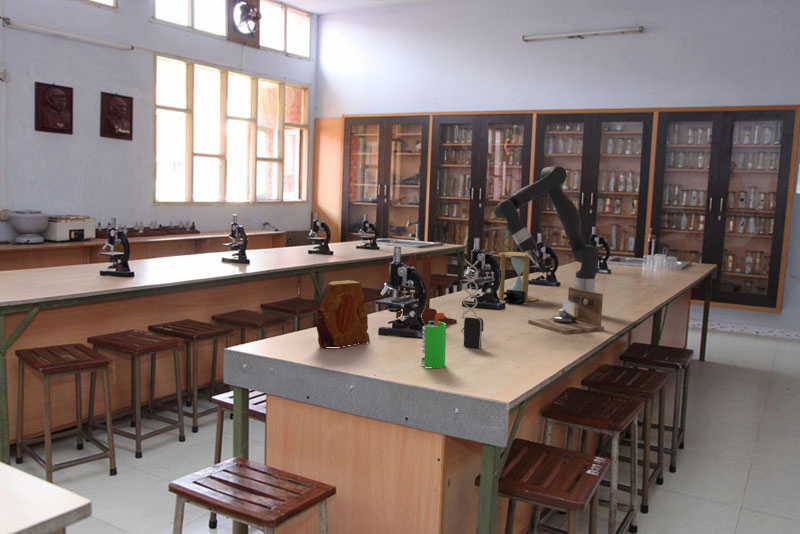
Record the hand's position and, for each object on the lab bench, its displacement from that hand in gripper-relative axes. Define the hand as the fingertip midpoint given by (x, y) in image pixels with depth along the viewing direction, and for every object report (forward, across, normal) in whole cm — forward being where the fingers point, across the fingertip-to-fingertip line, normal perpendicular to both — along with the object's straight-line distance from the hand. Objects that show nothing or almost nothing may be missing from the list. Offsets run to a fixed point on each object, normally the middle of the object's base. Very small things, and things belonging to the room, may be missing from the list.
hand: (545, 272), depth 317 cm
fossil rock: (-21, -52, +91) cm, 107 cm away
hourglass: (+8, +67, +6) cm, 67 cm away
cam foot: (+23, -8, +6) cm, 25 cm away
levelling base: (+24, -7, +7) cm, 26 cm away
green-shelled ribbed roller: (+2, -78, +66) cm, 102 cm away
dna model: (+3, -24, +46) cm, 52 cm away
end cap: (+8, +52, +11) cm, 54 cm away
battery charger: (+6, -50, +50) cm, 70 cm away
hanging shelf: (-10, -1, +57) cm, 58 cm away
